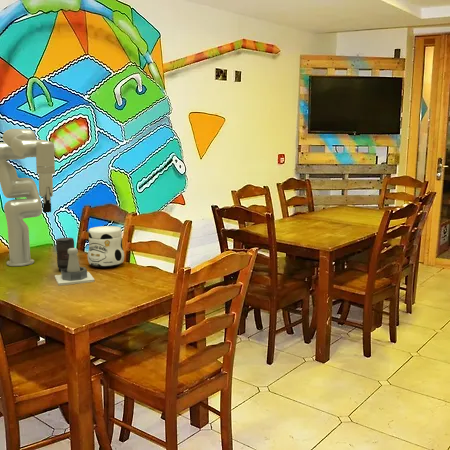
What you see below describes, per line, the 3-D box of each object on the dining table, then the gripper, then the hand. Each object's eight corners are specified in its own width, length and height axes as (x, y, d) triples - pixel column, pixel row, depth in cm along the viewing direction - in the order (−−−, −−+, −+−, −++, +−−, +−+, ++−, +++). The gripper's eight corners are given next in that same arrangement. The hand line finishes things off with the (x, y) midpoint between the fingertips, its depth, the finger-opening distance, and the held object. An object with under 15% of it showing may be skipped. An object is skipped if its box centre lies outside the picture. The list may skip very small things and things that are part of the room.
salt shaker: (68, 275, 244) (67, 246, 242) (81, 275, 244) (80, 246, 242) (65, 279, 238) (64, 249, 236) (79, 278, 239) (78, 249, 236)
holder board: (54, 277, 245) (54, 275, 244) (89, 274, 250) (88, 271, 250) (58, 285, 232) (58, 283, 232) (94, 281, 238) (94, 279, 238)
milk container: (87, 270, 256) (85, 232, 253) (88, 262, 273) (87, 226, 270) (124, 268, 260) (123, 231, 256) (124, 260, 276) (123, 225, 273)
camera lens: (78, 268, 261) (76, 237, 258) (71, 272, 253) (70, 240, 250) (61, 267, 261) (59, 236, 259) (54, 272, 253) (52, 240, 251)
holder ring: (60, 275, 244) (60, 268, 243) (84, 273, 248) (84, 265, 247) (63, 281, 234) (63, 273, 234) (88, 279, 238) (88, 271, 238)
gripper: (34, 168, 242) (36, 209, 246) (38, 172, 229) (40, 215, 233) (52, 168, 245) (53, 208, 249) (57, 171, 232) (58, 214, 236)
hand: (47, 211), depth 241 cm, fingers closed
